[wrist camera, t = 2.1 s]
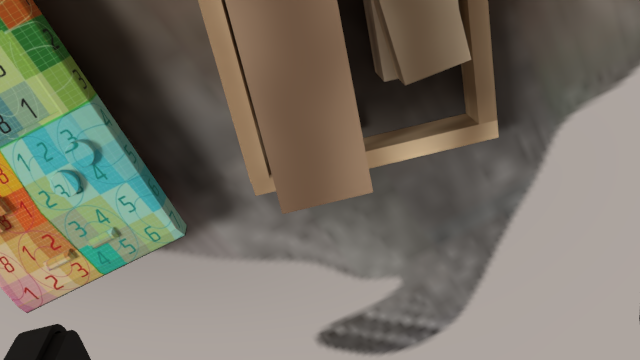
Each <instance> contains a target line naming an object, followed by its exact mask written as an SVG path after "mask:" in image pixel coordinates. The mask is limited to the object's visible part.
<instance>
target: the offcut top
mask: <svg viewBox="0 0 640 360" xmlns="http://www.w3.org/2000/svg"><path fill="white" fill-rule="evenodd" d="M373 2H374V5H375V9H376V12H377V15H378V18H379V21H380V25H381V28H382V31H383V34H384V37H385V41H386V44H387V47H388V50H389V54H390V57H391V60H392V63H393V66H394V70H395V73H396V76H397V78H398V79H399V80H400V81H401V82H402V83H403V84H404V85H408V84H411V83H413V82H416V81H418V80H421V79H423V78H426V77H428V76H431V75H433V74H436V73H439V72H441V71H444V70H446V69H449V68H451V67H454V66H456V65H459V64H461V63H464V62H467V61H469V60H471V56H470V52H469V48H468V44H467V40H466V36H465V32H464V28H463V24H462V20H461V16H460V12H459V8H458V4H457V0H373Z"/></svg>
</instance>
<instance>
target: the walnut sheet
mask: <svg viewBox="0 0 640 360" xmlns="http://www.w3.org/2000/svg"><path fill="white" fill-rule="evenodd" d="M225 2H226V6H227V10H228V13H229V17H230V21H231V25H232V28H233V32H234V36H235V39H236V43H237V47H238V51H239V54H240V58H241V62H242V65H243V69H244V73H245V77H246V80H247V84H248V88H249V91H250V95H251V99H252V103H253V106H254V110H255V114H256V117H257V121H258V125H259V129H260V132H261V136H262V140H263V144H264V147H265V151H266V155H267V158H268V162H269V166H270V170H271V173H272V177H273V181H274V184H275V188H276V192H277V196H278V199H279V203H280V207H281V210H282V214H285V213H289V212H293V211H297V210H301V209H306V208H310V207H314V206H318V205H322V204H326V203H330V202H335V201H339V200H343V199H347V198H351V197H355V196H359V195H364V194H368V193H372V192H373V189H372V184H371V178H370V173H369V168H368V162H367V157H366V152H365V146H364V141H363V136H362V130H361V125H360V120H359V114H358V109H357V104H356V98H355V93H354V88H353V83H352V77H351V72H350V67H349V61H348V56H347V51H346V45H345V40H344V35H343V29H342V24H341V19H340V13H339V8H338V3H337V0H225Z"/></svg>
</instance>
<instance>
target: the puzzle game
mask: <svg viewBox="0 0 640 360" xmlns="http://www.w3.org/2000/svg"><path fill="white" fill-rule="evenodd" d="M186 230H187V225H186V224H185V223H184V221H183V220H182V218H181V217H180V215H179V214H178V212H177V211H176V209H175V208H174V206H173V205H172V203H171V202H170V201H169V199H168V198H167V196H166V195H165V193H164V192H163V190H162V189H161V187H160V186H159V184H158V183H157V181H156V180H155V179H154V177H153V176H152V174H151V173H150V171H149V170H148V168H147V167H146V165H145V164H144V162H143V161H142V160H141V158H140V157H139V155H138V154H137V152H136V151H135V149H134V148H133V146H132V145H131V143H130V142H129V140H128V139H127V138H126V136H125V135H124V133H123V132H122V130H121V129H120V127H119V126H118V124H117V123H116V121H115V120H114V118H113V117H112V116H111V114H110V113H109V111H108V110H107V108H106V107H105V105H104V104H103V102H102V101H101V99H100V98H99V96H98V95H97V94H96V92H95V91H94V89H93V88H92V86H91V85H90V83H89V82H88V80H87V79H86V77H85V76H84V75H83V73H82V72H81V70H80V69H79V67H78V66H77V64H76V63H75V61H74V60H73V58H72V57H71V55H70V54H69V53H68V51H67V50H66V48H65V47H64V45H63V44H62V42H61V41H60V39H59V38H58V36H57V35H56V33H55V32H54V31H53V29H52V28H51V26H50V25H49V23H48V22H47V20H46V19H45V17H44V16H43V14H42V13H41V12H40V10H39V9H38V7H37V6H36V4H35V3H34V1H33V0H0V287H1V288H2V289H3V290H4V291H5V293H6V294H7V295H8V296H9V297H10V298H11V299H12V301H13V302H14V303H15V304H16V305H17V306H18V307H19V308H20V309H22V310H23V311H25V312H26V313H29V312H30V311H33V310H35V309H37V308H39V307H41V306H43V305H45V304H47V303H49V302H51V301H53V300H55V299H57V298H59V297H61V296H63V295H65V294H67V293H69V292H72V291H74V290H75V289H77V288H80V287H82V286H84V285H86V284H88V283H90V282H92V281H94V280H96V279H98V278H100V277H102V276H104V275H106V274H108V273H110V272H112V271H114V270H116V269H118V268H120V267H122V266H125V265H127V264H129V263H130V262H133V261H135V260H137V259H139V258H141V257H143V256H145V255H147V254H149V253H151V252H153V251H155V250H157V249H159V248H161V247H163V246H165V245H167V244H169V243H171V242H173V241H176V240H178V239H180V238H182V237H184V236H185V235H186Z"/></svg>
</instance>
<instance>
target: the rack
mask: <svg viewBox="0 0 640 360" xmlns="http://www.w3.org/2000/svg"><path fill="white" fill-rule="evenodd" d="M198 2H199V5H200V8H201V12H202V15H203V19H204V22H205V26H206V29H207V33H208V36H209V40H210V43H211V47H212V50H213V54H214V57H215V60H216V64H217V67H218V71H219V74H220V78H221V81H222V85H223V88H224V92H225V95H226V99H227V102H228V106H229V109H230V112H231V116H232V119H233V123H234V126H235V130H236V133H237V137H238V140H239V144H240V147H241V151H242V154H243V158H244V161H245V164H246V168H247V171H248V175H249V178H250V182H251V183H252V185H253V189H254V192H255V196H257V195H261V194H265V193H269V192H274V191H276V188H275V184H274V181H273V177H272V173H271V170H270V166H269V162H268V159H267V155H266V152H265V148H264V144H263V141H262V137H261V133H260V129H259V126H258V122H257V118H256V115H255V111H254V107H253V103H252V100H251V96H250V92H249V89H248V85H247V81H246V77H245V74H244V70H243V66H242V63H241V59H240V55H239V51H238V48H237V44H236V40H235V37H234V33H233V29H232V25H231V22H230V18H229V14H228V11H227V7H226V3H225V0H198ZM458 5H459V12H460V16H461V20H462V24H463V28H464V32H465V36H466V40H467V44H468V48H469V52H470V56H471V60H469V61H467V62H464V63H461V69H462V79H463V88H464V98H465V108H466V114H461V115H457V116H453V117H449V118H445V119H440V120H436V121H432V122H428V123H424V124H420V125H415V126H411V127H407V128H403V129H399V130H395V131H390V132H386V133H382V134H378V135H374V136H369V137H365V138H363V141H364V146H365V152H366V157H367V162H368V168H373V167H377V166H382V165H386V164H390V163H394V162H398V161H402V160H406V159H411V158H415V157H419V156H423V155H427V154H431V153H436V152H440V151H444V150H448V149H452V148H456V147H460V146H465V145H469V144H473V143H477V142H481V141H485V140H490V139H494V138H498V137H499V135H498V122H497V110H496V97H495V84H494V71H493V58H492V46H491V33H490V20H489V7H488V0H458Z"/></svg>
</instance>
